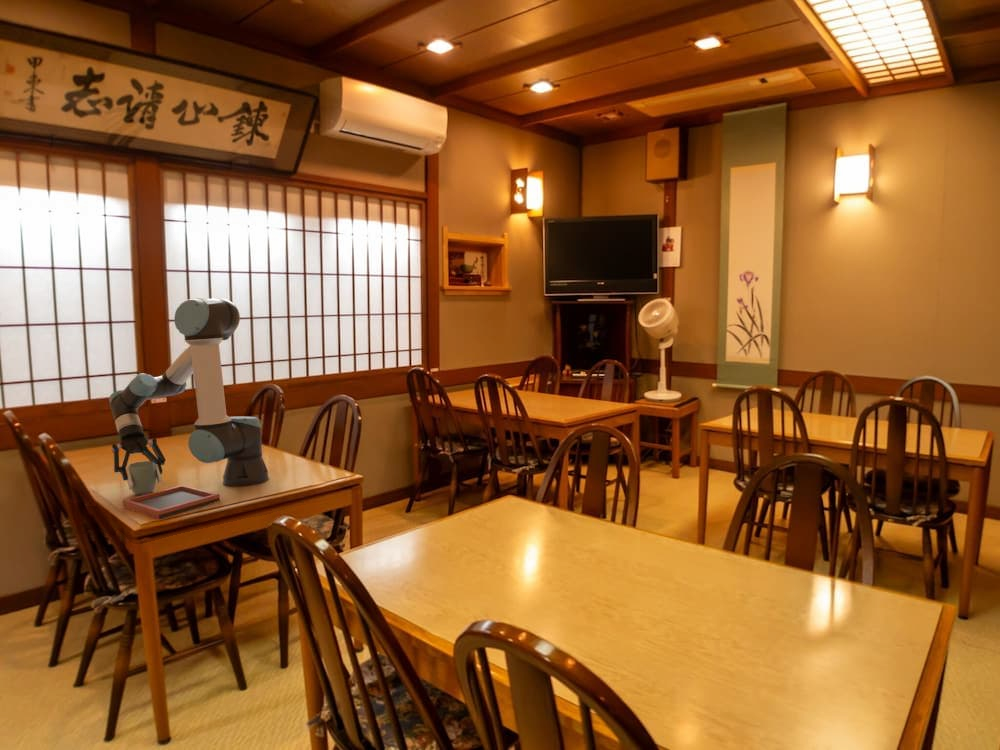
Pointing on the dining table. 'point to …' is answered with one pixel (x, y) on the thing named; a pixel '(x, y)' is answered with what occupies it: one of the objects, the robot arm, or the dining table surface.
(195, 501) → the tray
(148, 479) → the cup
